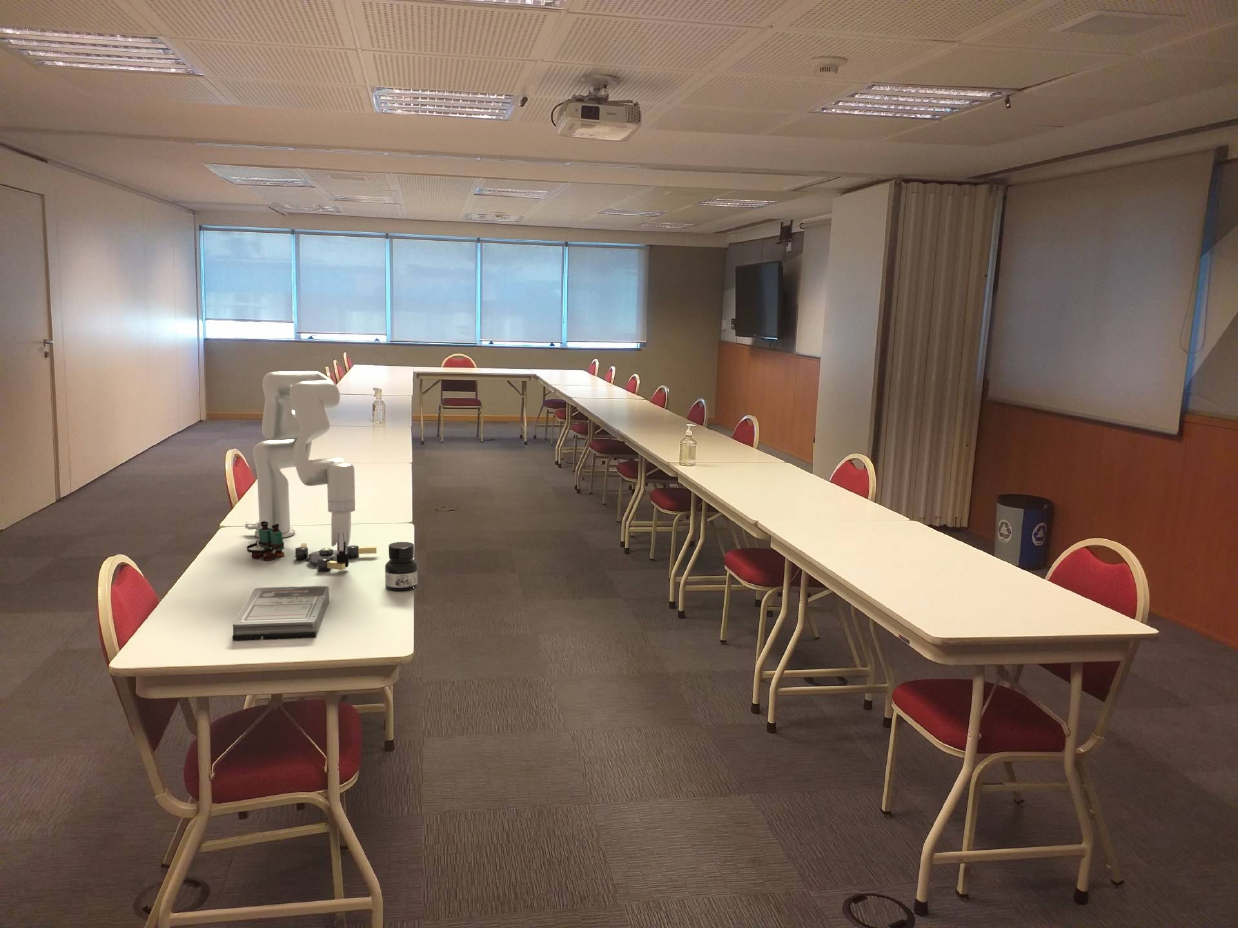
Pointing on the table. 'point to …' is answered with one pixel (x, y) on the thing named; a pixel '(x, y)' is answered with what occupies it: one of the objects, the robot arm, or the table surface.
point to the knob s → (329, 565)
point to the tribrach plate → (322, 556)
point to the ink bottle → (401, 567)
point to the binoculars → (268, 543)
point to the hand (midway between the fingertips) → (342, 566)
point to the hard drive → (281, 613)
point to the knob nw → (301, 552)
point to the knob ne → (359, 551)
